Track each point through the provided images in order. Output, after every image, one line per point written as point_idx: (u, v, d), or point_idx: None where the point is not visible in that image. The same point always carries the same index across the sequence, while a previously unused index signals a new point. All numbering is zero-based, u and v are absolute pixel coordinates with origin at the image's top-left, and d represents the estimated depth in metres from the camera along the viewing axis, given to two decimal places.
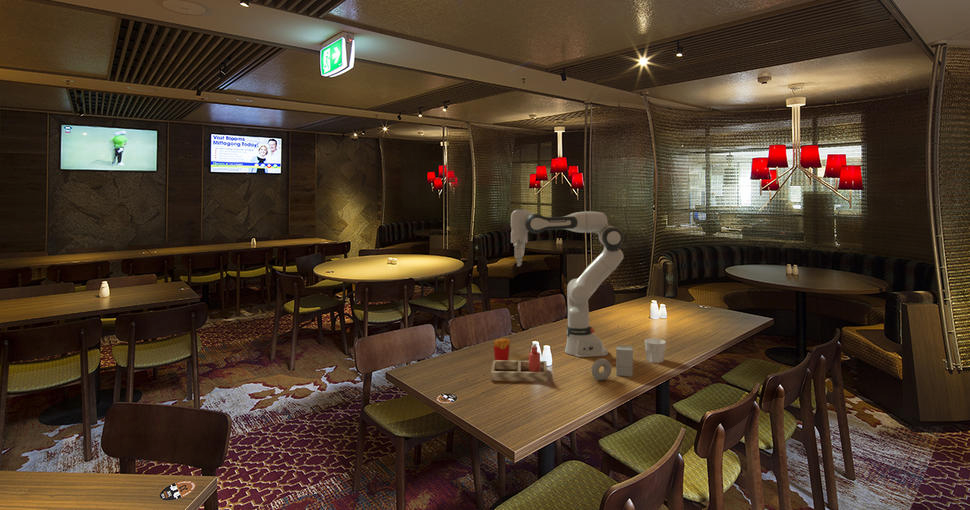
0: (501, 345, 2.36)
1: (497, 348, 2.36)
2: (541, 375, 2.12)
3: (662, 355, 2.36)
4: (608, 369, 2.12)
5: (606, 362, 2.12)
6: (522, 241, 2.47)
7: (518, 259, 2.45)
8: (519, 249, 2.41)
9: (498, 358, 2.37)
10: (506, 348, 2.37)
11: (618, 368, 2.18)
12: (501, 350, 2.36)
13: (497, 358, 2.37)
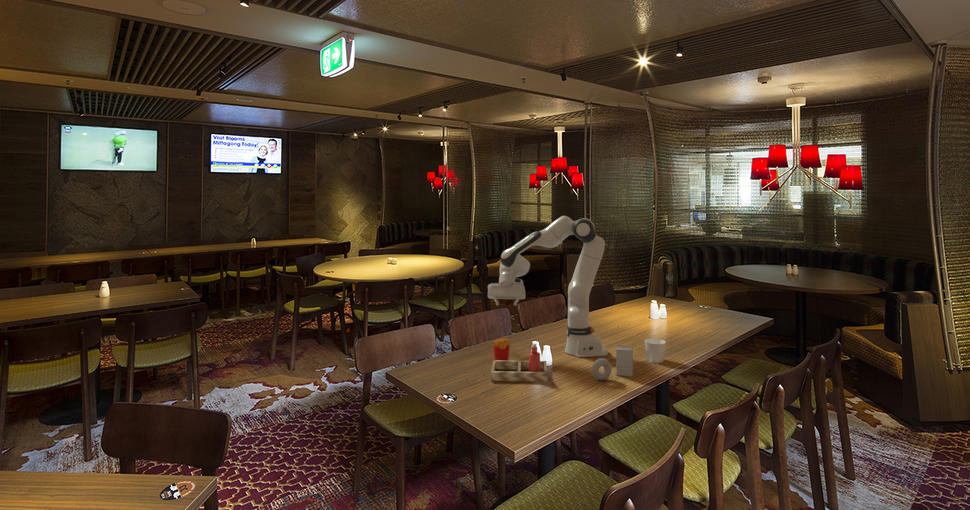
0: (501, 345, 2.36)
1: (497, 348, 2.36)
2: (541, 375, 2.12)
3: (662, 355, 2.36)
4: (608, 369, 2.12)
5: (606, 362, 2.12)
6: (499, 282, 2.55)
7: (494, 298, 2.51)
8: None
9: (498, 358, 2.37)
10: (506, 348, 2.37)
11: (618, 368, 2.18)
12: (501, 350, 2.36)
13: (497, 358, 2.37)
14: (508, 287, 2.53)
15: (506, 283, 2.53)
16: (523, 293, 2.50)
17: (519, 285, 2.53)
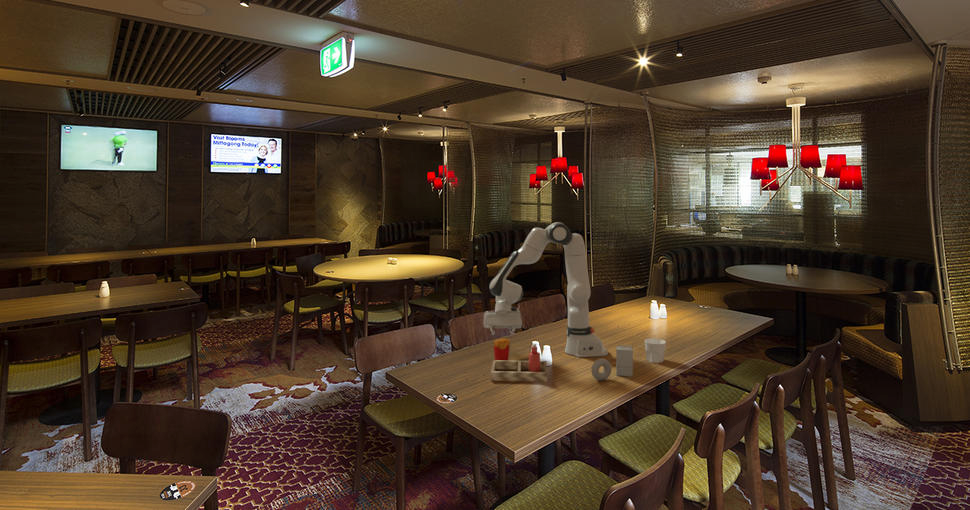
0: (501, 345, 2.36)
1: (497, 348, 2.36)
2: (541, 375, 2.12)
3: (662, 355, 2.36)
4: (608, 369, 2.12)
5: (606, 362, 2.12)
6: (495, 311, 2.52)
7: (490, 328, 2.48)
8: (484, 318, 2.51)
9: (498, 358, 2.37)
10: (506, 348, 2.37)
11: (618, 368, 2.18)
12: (501, 350, 2.36)
13: (497, 358, 2.37)
14: (504, 316, 2.50)
15: (502, 312, 2.50)
16: (519, 322, 2.46)
17: (515, 314, 2.49)
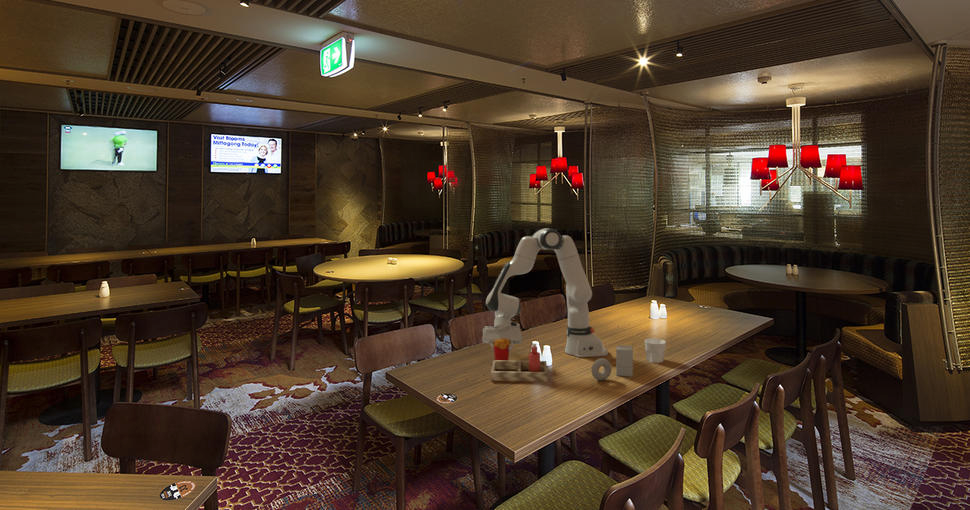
0: (501, 345, 2.36)
1: (497, 348, 2.36)
2: (541, 375, 2.12)
3: (662, 355, 2.36)
4: (608, 369, 2.12)
5: (606, 362, 2.12)
6: (494, 325, 2.45)
7: None
8: (483, 333, 2.44)
9: (498, 358, 2.37)
10: (506, 348, 2.37)
11: (618, 368, 2.18)
12: (501, 350, 2.36)
13: (497, 358, 2.37)
14: (504, 331, 2.43)
15: (502, 327, 2.43)
16: (519, 338, 2.39)
17: (515, 329, 2.42)
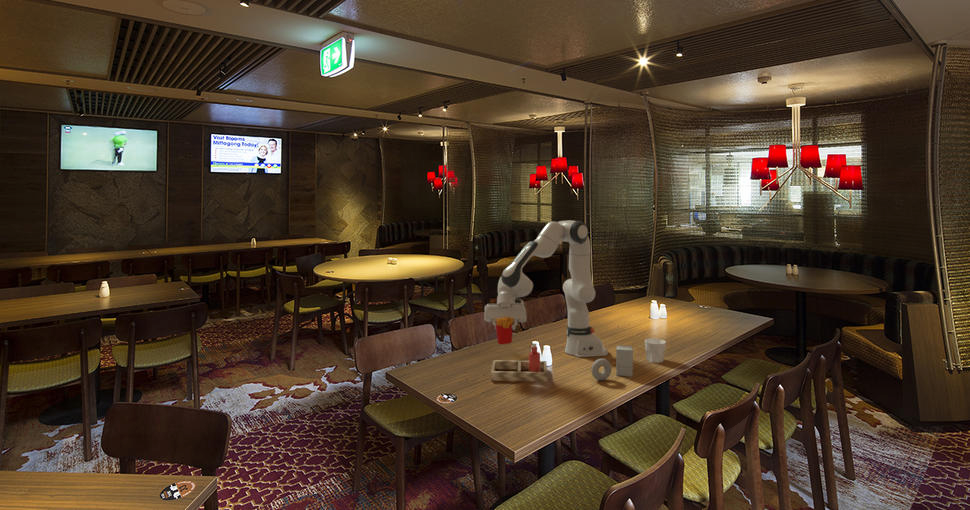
0: (504, 324, 2.19)
1: (500, 327, 2.18)
2: (541, 375, 2.12)
3: (662, 355, 2.36)
4: (608, 369, 2.12)
5: (606, 362, 2.12)
6: (497, 303, 2.27)
7: (493, 322, 2.23)
8: (485, 311, 2.26)
9: (501, 338, 2.19)
10: (509, 327, 2.20)
11: (618, 368, 2.18)
12: (504, 329, 2.19)
13: (500, 338, 2.19)
14: (507, 309, 2.25)
15: (505, 304, 2.25)
16: (524, 316, 2.22)
17: (519, 306, 2.25)
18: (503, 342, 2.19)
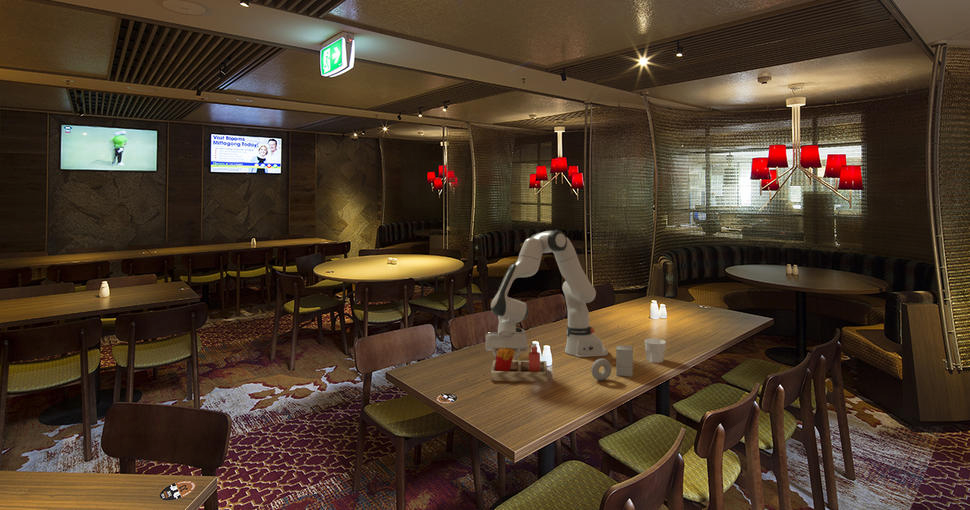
0: (505, 356, 2.19)
1: (500, 359, 2.18)
2: (541, 375, 2.12)
3: (662, 355, 2.36)
4: (608, 369, 2.12)
5: (606, 362, 2.12)
6: (498, 332, 2.28)
7: None
8: (486, 340, 2.27)
9: (500, 369, 2.20)
10: (509, 359, 2.20)
11: (618, 368, 2.18)
12: (504, 361, 2.19)
13: (499, 369, 2.20)
14: (508, 338, 2.26)
15: (506, 333, 2.25)
16: (525, 345, 2.22)
17: (520, 335, 2.25)
18: None
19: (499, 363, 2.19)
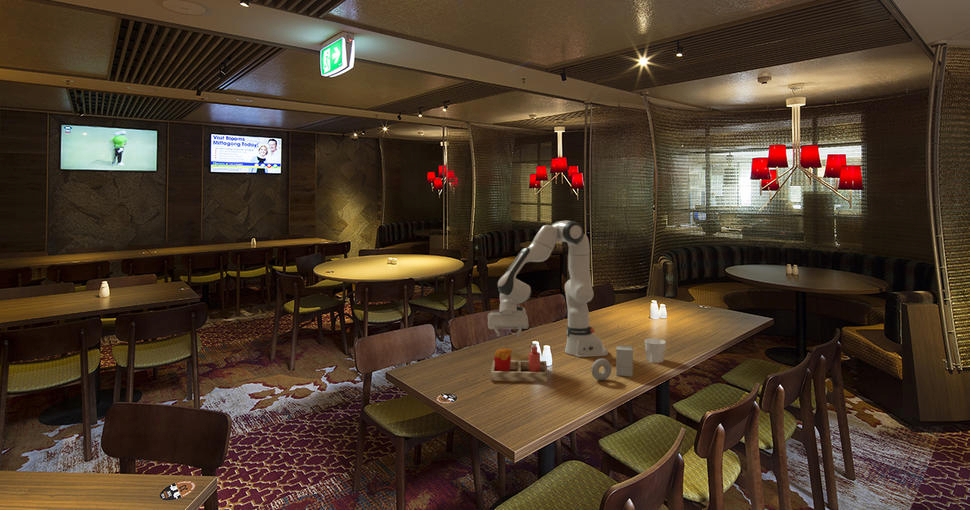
0: (503, 356, 2.20)
1: (498, 359, 2.19)
2: (541, 375, 2.12)
3: (662, 355, 2.36)
4: (608, 369, 2.12)
5: (606, 362, 2.12)
6: (500, 311, 2.37)
7: (495, 329, 2.34)
8: (488, 319, 2.36)
9: (499, 369, 2.20)
10: (508, 359, 2.21)
11: (618, 368, 2.18)
12: (502, 361, 2.20)
13: (498, 370, 2.20)
14: (509, 316, 2.36)
15: (507, 312, 2.35)
16: (526, 322, 2.32)
17: (521, 314, 2.35)
18: None
19: (498, 363, 2.19)
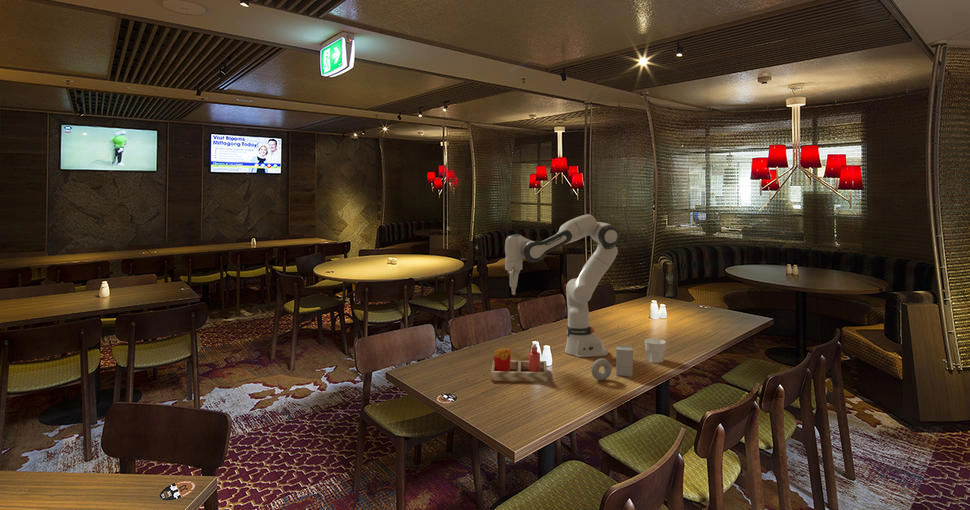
0: (502, 355, 2.20)
1: (498, 359, 2.19)
2: (541, 375, 2.12)
3: (662, 355, 2.36)
4: (608, 369, 2.12)
5: (606, 362, 2.12)
6: (517, 268, 2.39)
7: (513, 287, 2.37)
8: (514, 278, 2.33)
9: (499, 369, 2.20)
10: (507, 359, 2.21)
11: (618, 368, 2.18)
12: (502, 361, 2.20)
13: (498, 370, 2.20)
14: None
15: (519, 270, 2.42)
16: None
17: None
18: None
19: (497, 363, 2.20)
